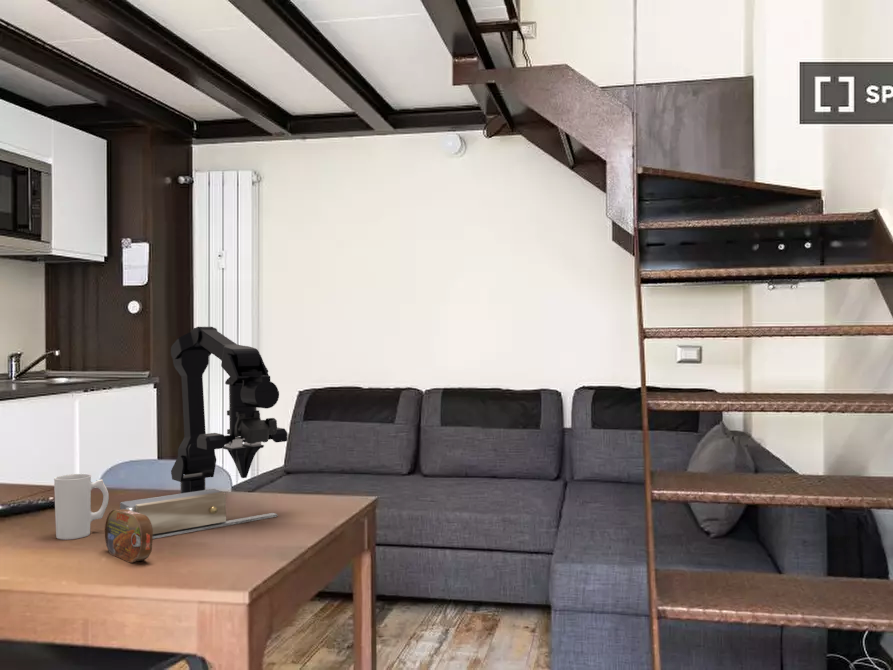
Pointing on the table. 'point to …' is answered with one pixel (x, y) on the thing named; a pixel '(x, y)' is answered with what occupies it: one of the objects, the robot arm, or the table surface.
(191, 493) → the cabinet
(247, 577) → the table surface
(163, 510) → the door
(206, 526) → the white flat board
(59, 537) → the mug
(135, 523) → the tin
